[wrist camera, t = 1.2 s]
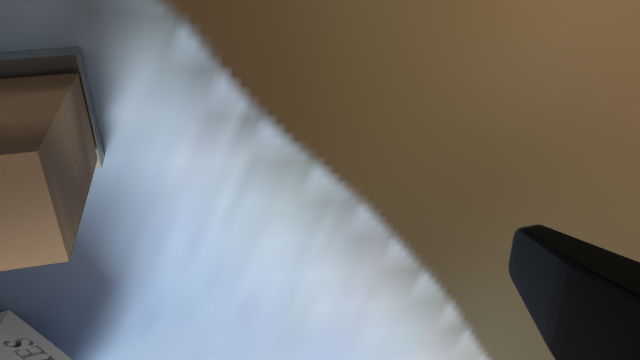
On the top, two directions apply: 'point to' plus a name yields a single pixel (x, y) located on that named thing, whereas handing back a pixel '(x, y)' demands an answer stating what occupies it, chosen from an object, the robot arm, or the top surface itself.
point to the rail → (54, 64)
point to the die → (24, 341)
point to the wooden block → (42, 168)
